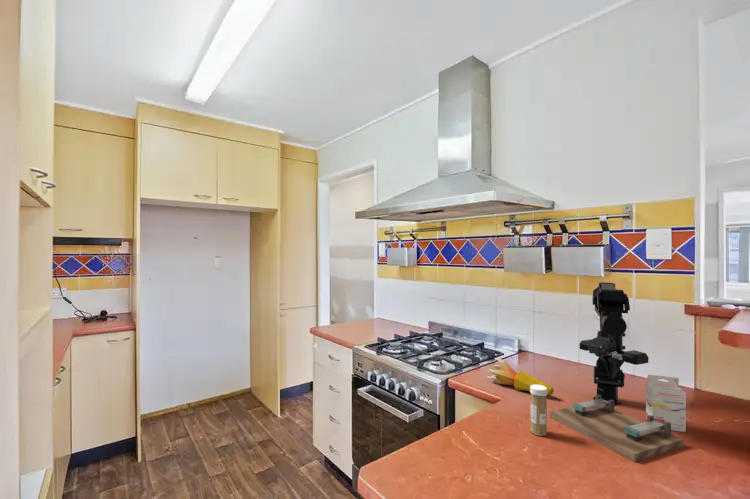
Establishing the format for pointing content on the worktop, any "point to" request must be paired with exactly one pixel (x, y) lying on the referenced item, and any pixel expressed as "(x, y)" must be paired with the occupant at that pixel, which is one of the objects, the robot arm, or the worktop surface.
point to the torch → (515, 378)
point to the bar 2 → (644, 428)
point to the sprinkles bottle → (538, 410)
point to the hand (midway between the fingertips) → (611, 378)
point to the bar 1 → (590, 405)
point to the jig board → (618, 431)
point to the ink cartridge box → (666, 401)
